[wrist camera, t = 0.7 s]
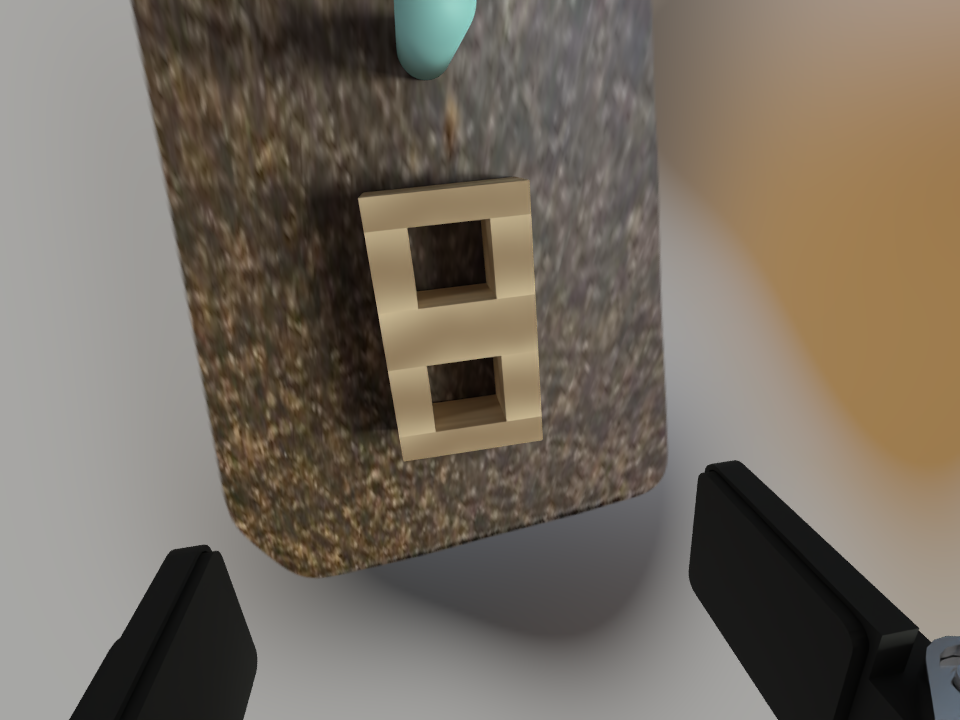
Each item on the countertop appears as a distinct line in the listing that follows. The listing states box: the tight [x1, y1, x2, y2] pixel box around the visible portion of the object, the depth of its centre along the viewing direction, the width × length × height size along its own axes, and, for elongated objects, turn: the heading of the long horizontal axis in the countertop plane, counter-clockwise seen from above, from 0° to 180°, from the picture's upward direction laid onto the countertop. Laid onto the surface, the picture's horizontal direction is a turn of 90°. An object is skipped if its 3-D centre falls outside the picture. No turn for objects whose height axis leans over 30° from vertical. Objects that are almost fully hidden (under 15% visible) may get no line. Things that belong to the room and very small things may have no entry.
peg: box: [394, 0, 476, 80], centre depth 23 cm, size 3×3×10 cm
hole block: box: [358, 177, 543, 461], centre depth 32 cm, size 16×9×4 cm, turn 5°
